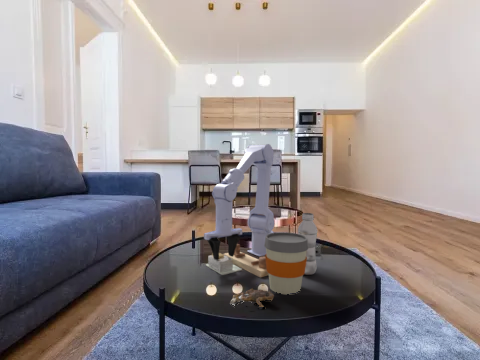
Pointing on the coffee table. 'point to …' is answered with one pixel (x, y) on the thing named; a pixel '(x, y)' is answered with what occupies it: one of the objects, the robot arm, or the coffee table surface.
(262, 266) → the hand plane
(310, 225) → the plastic bottle
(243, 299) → the frog figurine
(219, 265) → the brass-inlaid steel block
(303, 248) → the reusable coffee cup
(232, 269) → the felt pad
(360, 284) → the coffee table surface
